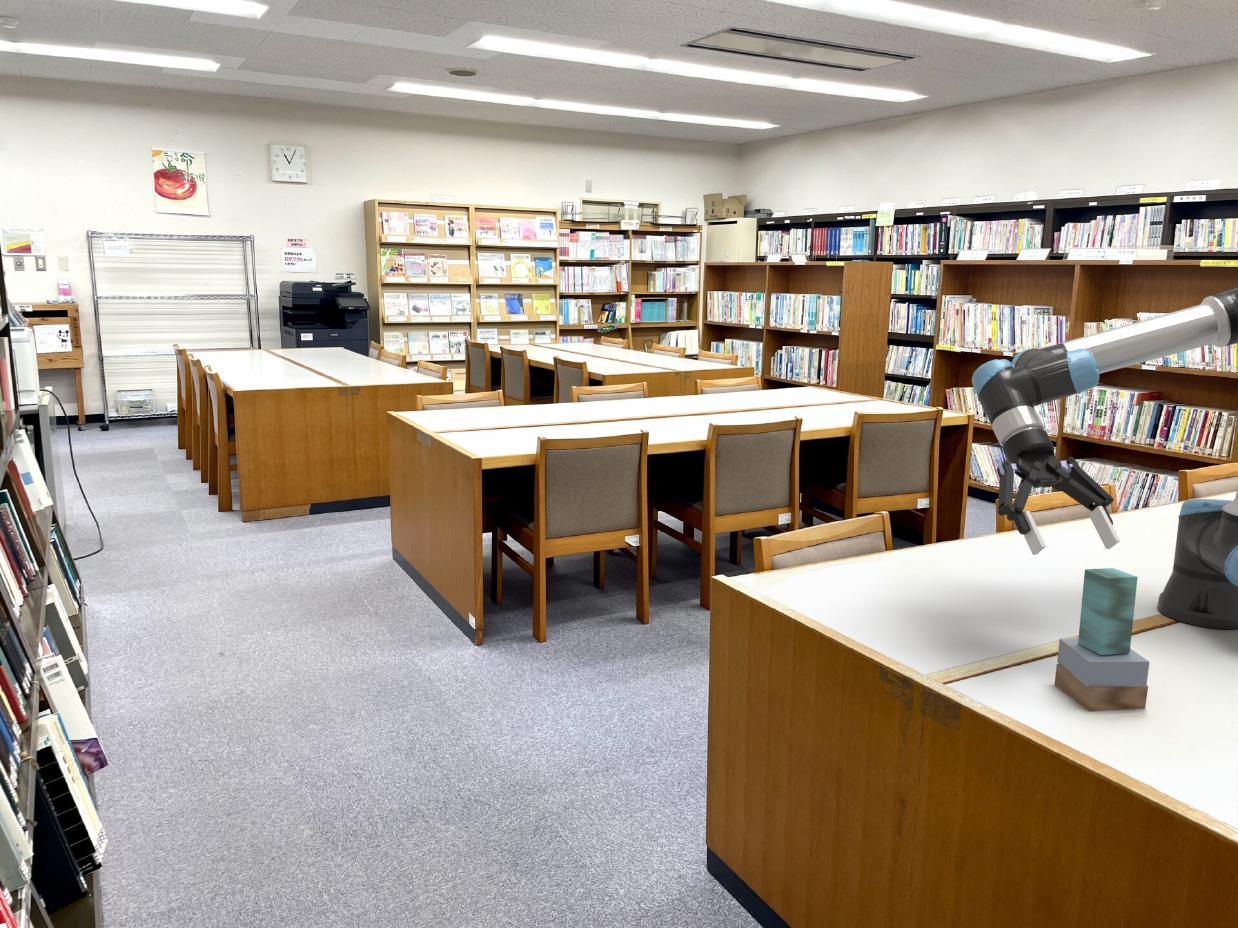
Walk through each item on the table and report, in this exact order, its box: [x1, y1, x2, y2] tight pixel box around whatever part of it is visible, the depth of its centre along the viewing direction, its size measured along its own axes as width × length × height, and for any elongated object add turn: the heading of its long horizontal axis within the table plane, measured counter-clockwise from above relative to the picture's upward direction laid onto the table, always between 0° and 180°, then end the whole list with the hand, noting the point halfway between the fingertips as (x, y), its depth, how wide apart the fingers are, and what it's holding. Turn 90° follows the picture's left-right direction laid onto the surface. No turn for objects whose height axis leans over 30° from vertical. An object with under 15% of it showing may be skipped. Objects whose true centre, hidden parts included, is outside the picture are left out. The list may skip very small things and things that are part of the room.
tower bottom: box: [1053, 663, 1149, 712], centre depth 137 cm, size 9×9×4 cm
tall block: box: [1078, 567, 1138, 655], centre depth 135 cm, size 5×5×12 cm
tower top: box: [1056, 637, 1150, 687], centre depth 137 cm, size 9×9×4 cm
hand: (1076, 548), depth 141 cm, fingers open, 13 cm apart
